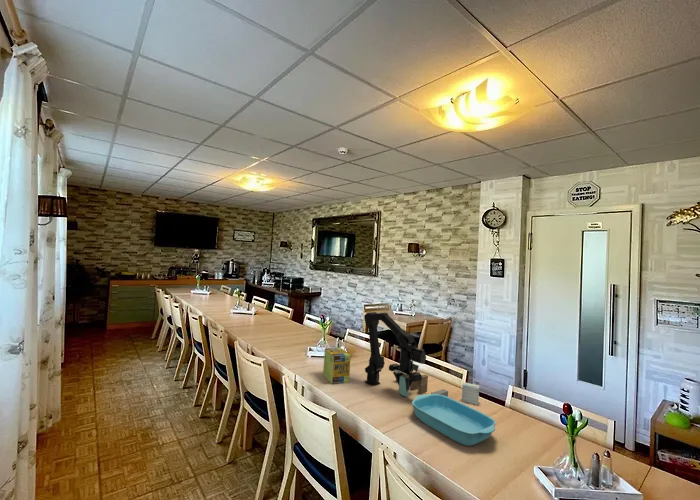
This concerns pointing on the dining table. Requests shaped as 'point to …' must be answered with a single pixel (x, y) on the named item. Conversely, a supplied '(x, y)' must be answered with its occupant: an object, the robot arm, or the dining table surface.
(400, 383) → the light blue flat block
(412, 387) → the domino
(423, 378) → the domino
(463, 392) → the medicine box
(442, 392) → the end block
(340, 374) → the protein box
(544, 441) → the dining table surface
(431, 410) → the casserole dish
